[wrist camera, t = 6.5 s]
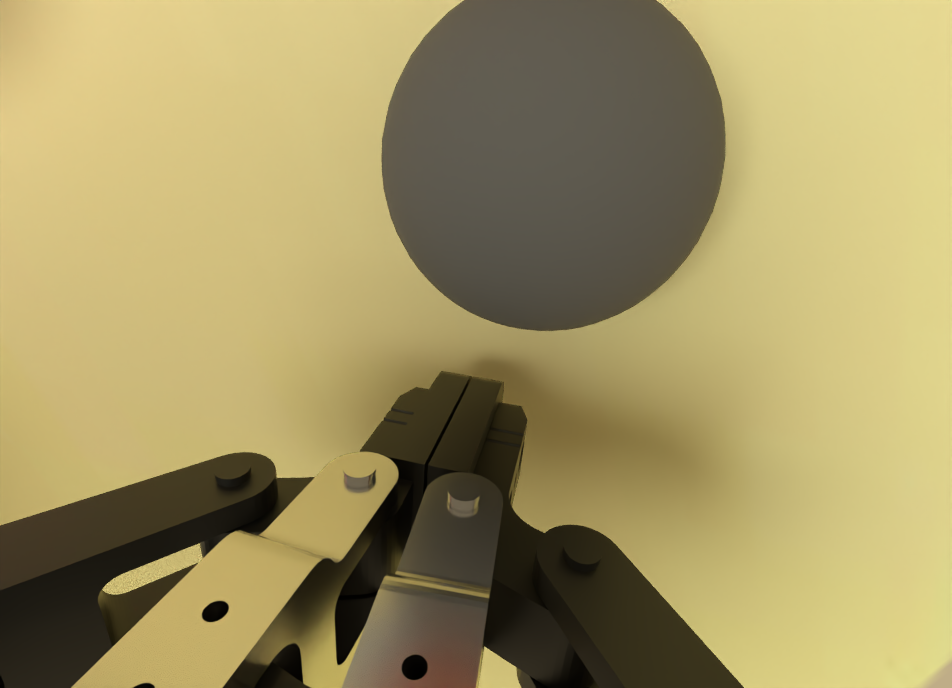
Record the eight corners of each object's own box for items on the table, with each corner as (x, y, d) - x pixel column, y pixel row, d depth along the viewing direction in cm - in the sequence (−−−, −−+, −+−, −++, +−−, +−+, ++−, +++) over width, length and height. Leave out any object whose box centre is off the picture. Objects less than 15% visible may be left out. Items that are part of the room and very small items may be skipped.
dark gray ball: (736, -29, 4) (692, -147, 8) (243, 154, 7) (380, 0, 10) (755, 382, 8) (720, 177, 11) (436, 405, 10) (488, 229, 14)
